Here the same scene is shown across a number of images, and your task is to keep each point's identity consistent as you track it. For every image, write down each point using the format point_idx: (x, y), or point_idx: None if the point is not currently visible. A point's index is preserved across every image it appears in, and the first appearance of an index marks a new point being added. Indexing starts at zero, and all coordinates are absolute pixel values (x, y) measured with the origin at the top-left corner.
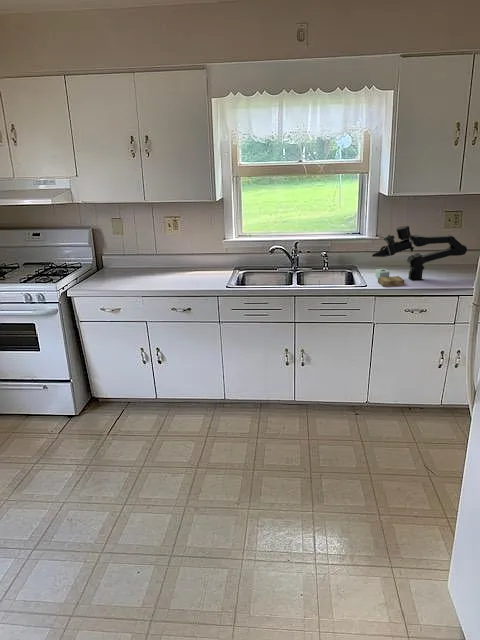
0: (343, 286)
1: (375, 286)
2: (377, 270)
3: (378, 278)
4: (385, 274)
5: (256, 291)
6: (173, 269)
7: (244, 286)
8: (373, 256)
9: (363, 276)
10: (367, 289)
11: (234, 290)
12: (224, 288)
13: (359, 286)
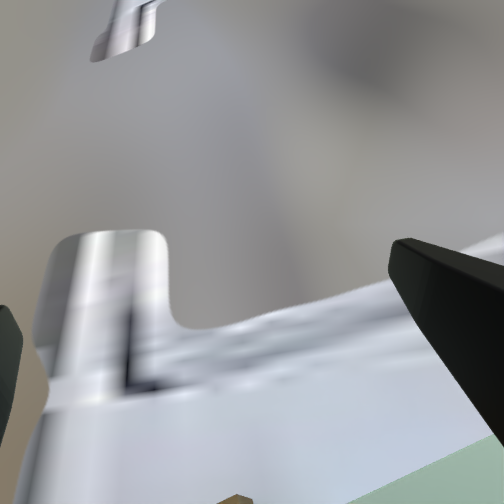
0: (136, 250)
1: (121, 482)
2: (444, 457)
3: (225, 501)
4: None
5: (95, 55)
6: None
7: (150, 19)
8: (396, 286)
9: None
10: (45, 416)
11: (112, 24)
12: (133, 6)
13: (130, 342)
